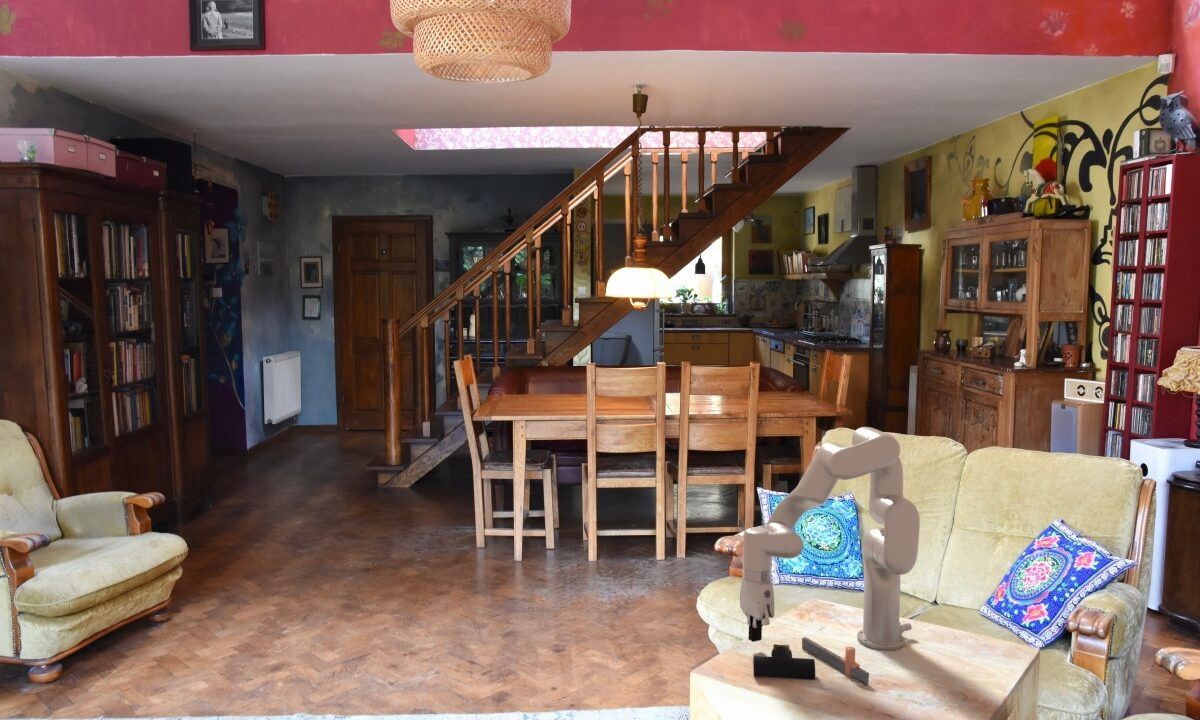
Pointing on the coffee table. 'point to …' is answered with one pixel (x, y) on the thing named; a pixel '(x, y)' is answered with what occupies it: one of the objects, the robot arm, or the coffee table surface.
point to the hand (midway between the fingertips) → (755, 639)
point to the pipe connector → (783, 665)
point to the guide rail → (838, 660)
